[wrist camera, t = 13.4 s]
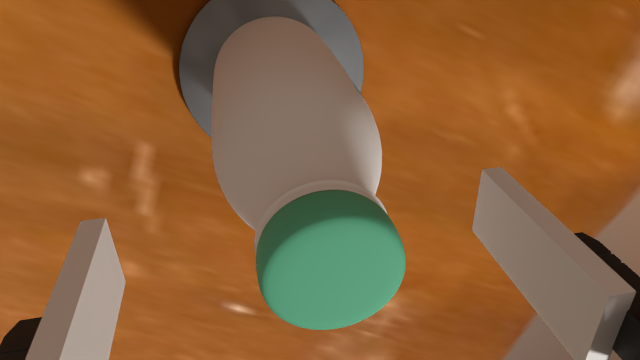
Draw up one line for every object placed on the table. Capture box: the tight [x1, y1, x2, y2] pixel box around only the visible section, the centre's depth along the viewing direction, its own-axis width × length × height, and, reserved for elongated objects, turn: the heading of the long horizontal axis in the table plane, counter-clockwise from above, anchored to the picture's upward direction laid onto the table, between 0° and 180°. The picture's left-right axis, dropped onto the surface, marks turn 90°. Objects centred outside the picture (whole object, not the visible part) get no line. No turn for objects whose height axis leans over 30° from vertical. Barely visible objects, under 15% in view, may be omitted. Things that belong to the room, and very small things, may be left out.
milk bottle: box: [211, 16, 405, 330], centre depth 23 cm, size 8×8×20 cm
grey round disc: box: [179, 0, 364, 137], centre depth 32 cm, size 12×12×1 cm
